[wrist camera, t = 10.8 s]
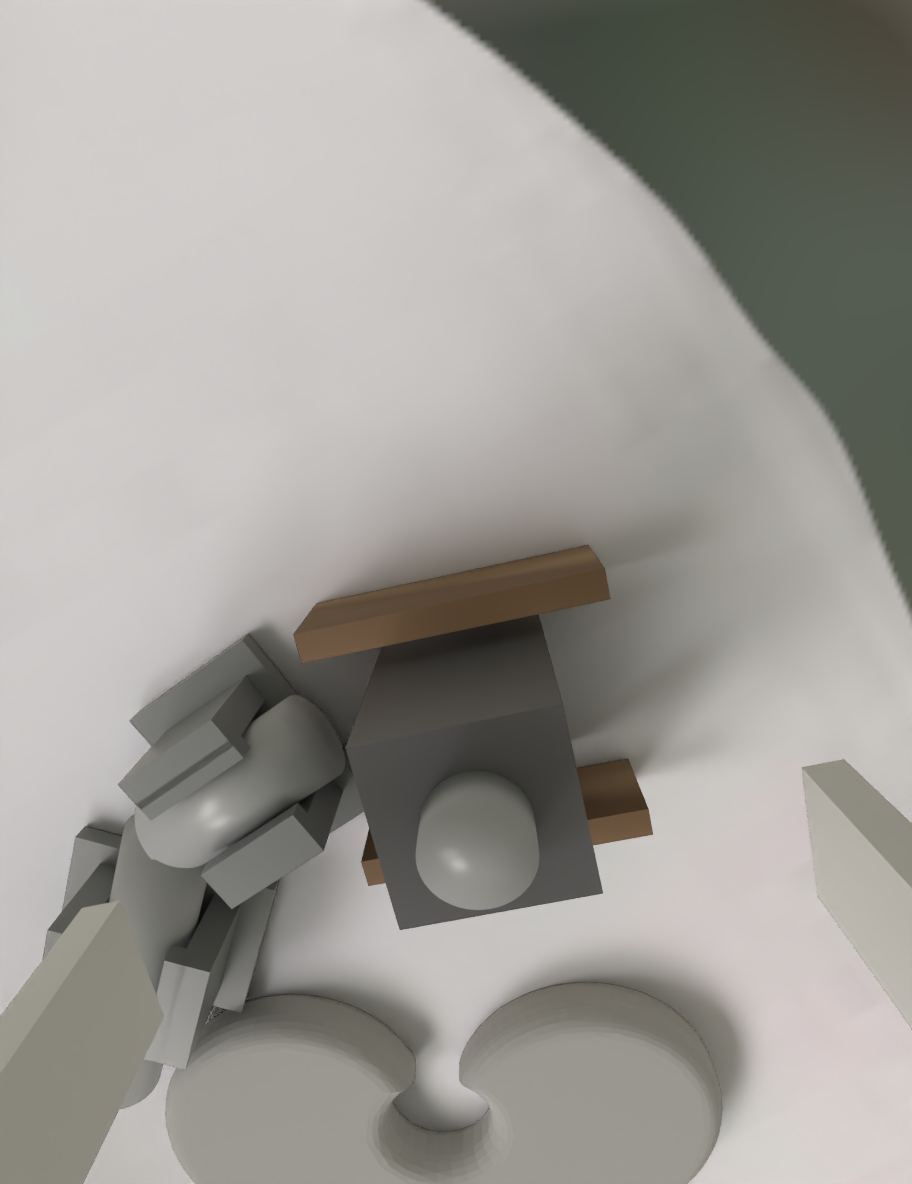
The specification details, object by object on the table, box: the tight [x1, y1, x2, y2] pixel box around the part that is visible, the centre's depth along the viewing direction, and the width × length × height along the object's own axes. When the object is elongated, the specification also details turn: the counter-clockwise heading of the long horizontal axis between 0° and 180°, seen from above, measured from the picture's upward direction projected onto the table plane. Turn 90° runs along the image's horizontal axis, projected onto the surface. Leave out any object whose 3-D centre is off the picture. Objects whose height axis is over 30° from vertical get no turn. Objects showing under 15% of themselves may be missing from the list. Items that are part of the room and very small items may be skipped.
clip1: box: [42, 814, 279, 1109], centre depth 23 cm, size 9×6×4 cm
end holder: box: [293, 545, 653, 886], centre depth 21 cm, size 8×8×3 cm
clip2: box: [118, 634, 364, 909], centre depth 21 cm, size 5×6×4 cm
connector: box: [346, 614, 603, 930], centre depth 18 cm, size 4×4×8 cm
